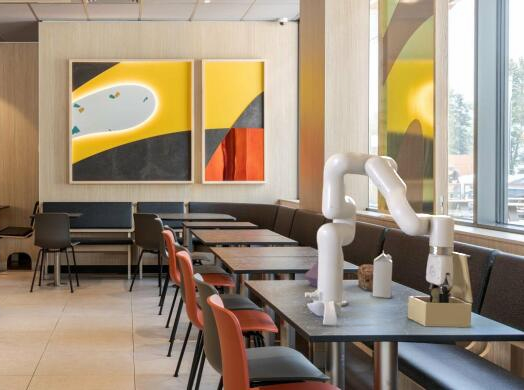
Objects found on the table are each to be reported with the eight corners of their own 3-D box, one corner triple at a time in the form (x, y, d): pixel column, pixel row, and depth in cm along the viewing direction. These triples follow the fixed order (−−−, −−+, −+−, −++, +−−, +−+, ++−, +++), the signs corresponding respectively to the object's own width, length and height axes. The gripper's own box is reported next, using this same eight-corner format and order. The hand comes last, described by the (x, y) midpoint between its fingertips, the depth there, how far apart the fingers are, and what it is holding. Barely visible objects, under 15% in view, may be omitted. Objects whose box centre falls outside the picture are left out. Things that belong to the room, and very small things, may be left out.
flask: (308, 281, 298) (310, 239, 297) (344, 285, 290) (345, 242, 289) (298, 286, 284) (300, 242, 283) (336, 290, 275) (337, 245, 275)
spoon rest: (305, 310, 231) (305, 291, 231) (338, 312, 230) (338, 292, 229) (313, 325, 208) (313, 303, 208) (349, 327, 206) (350, 305, 206)
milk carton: (372, 296, 262) (374, 251, 262) (372, 294, 269) (374, 250, 268) (390, 298, 260) (392, 252, 259) (390, 295, 266) (392, 251, 266)
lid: (464, 255, 210) (477, 252, 210) (444, 250, 223) (457, 248, 223) (470, 302, 211) (484, 300, 211) (450, 295, 223) (463, 293, 224)
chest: (425, 326, 211) (425, 303, 210) (407, 317, 223) (408, 296, 223) (470, 327, 211) (471, 304, 211) (451, 318, 224) (451, 296, 223)
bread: (357, 284, 293) (357, 263, 293) (380, 285, 291) (381, 264, 291) (364, 291, 275) (365, 268, 275) (389, 292, 273) (390, 269, 273)
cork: (450, 322, 214) (451, 290, 213) (431, 321, 215) (432, 289, 215) (445, 318, 220) (446, 287, 219) (426, 317, 221) (428, 286, 220)
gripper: (418, 248, 225) (416, 298, 226) (443, 254, 208) (441, 308, 208) (439, 248, 225) (437, 299, 226) (465, 254, 208) (463, 309, 209)
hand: (439, 303), depth 217 cm, fingers closed on cork, 5 cm apart
